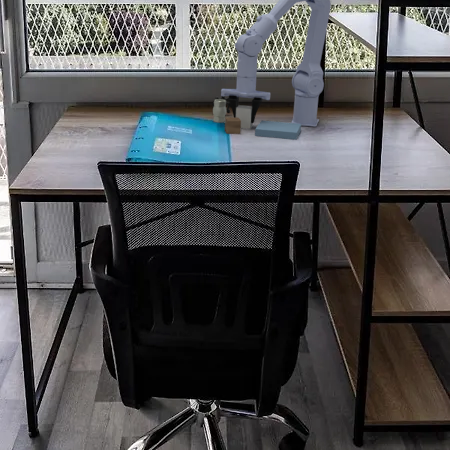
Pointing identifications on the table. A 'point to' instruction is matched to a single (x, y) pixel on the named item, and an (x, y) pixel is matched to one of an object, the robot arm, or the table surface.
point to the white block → (244, 116)
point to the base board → (278, 129)
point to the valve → (220, 108)
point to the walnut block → (232, 125)
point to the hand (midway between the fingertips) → (244, 121)
